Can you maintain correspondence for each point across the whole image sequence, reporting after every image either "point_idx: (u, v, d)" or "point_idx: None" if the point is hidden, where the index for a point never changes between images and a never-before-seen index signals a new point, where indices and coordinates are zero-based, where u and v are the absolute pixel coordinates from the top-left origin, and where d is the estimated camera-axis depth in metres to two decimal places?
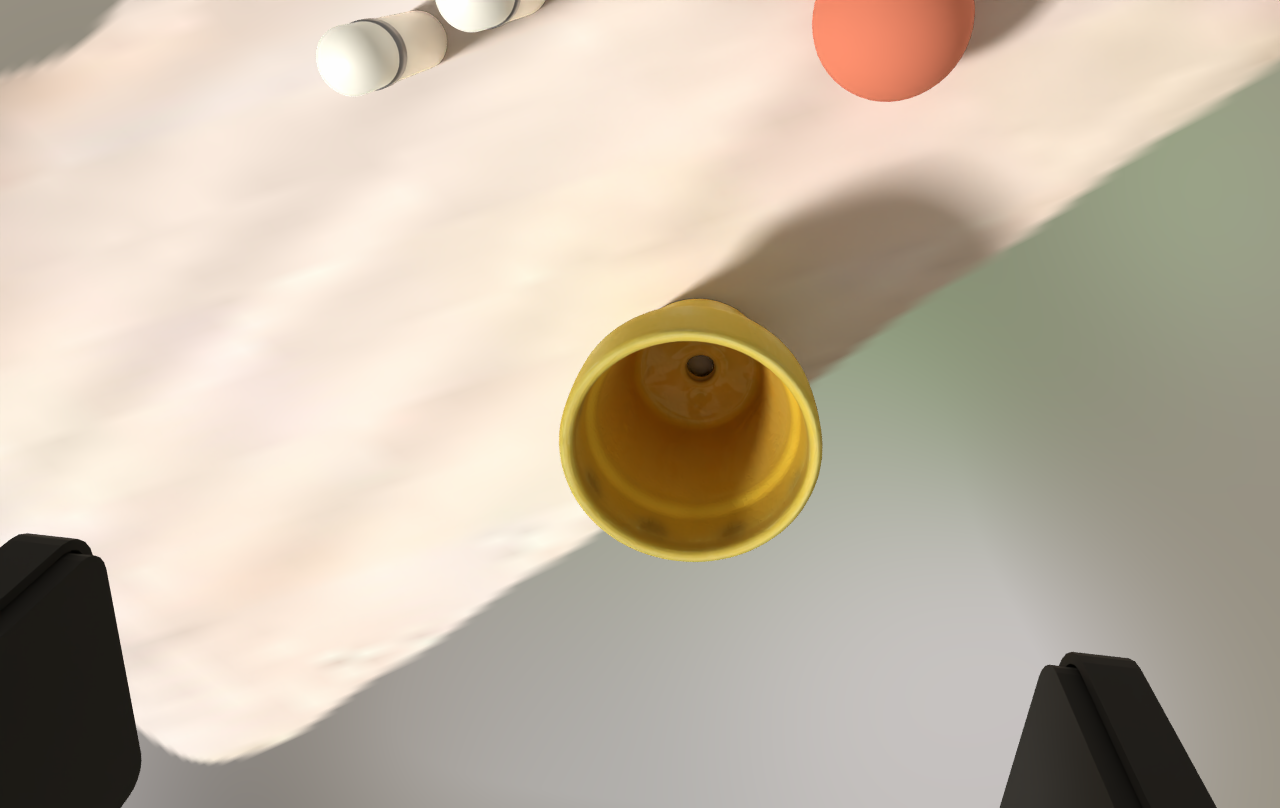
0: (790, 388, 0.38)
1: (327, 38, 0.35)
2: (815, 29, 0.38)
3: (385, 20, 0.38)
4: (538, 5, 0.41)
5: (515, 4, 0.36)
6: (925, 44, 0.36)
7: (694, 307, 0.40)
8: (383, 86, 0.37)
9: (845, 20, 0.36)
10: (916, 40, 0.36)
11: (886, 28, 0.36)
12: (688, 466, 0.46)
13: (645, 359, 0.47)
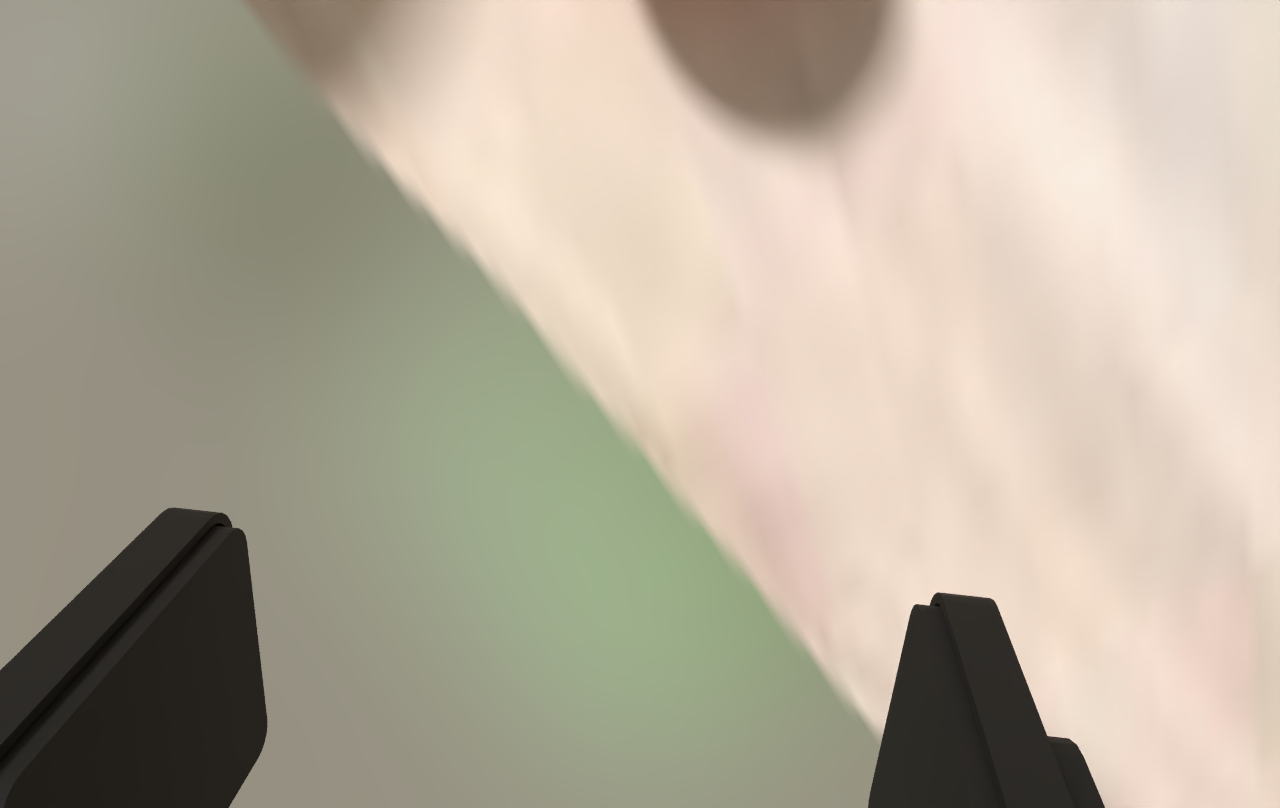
0: None
1: None
2: None
3: None
4: None
5: None
6: None
7: None
8: None
9: None
10: None
11: None
12: None
13: None
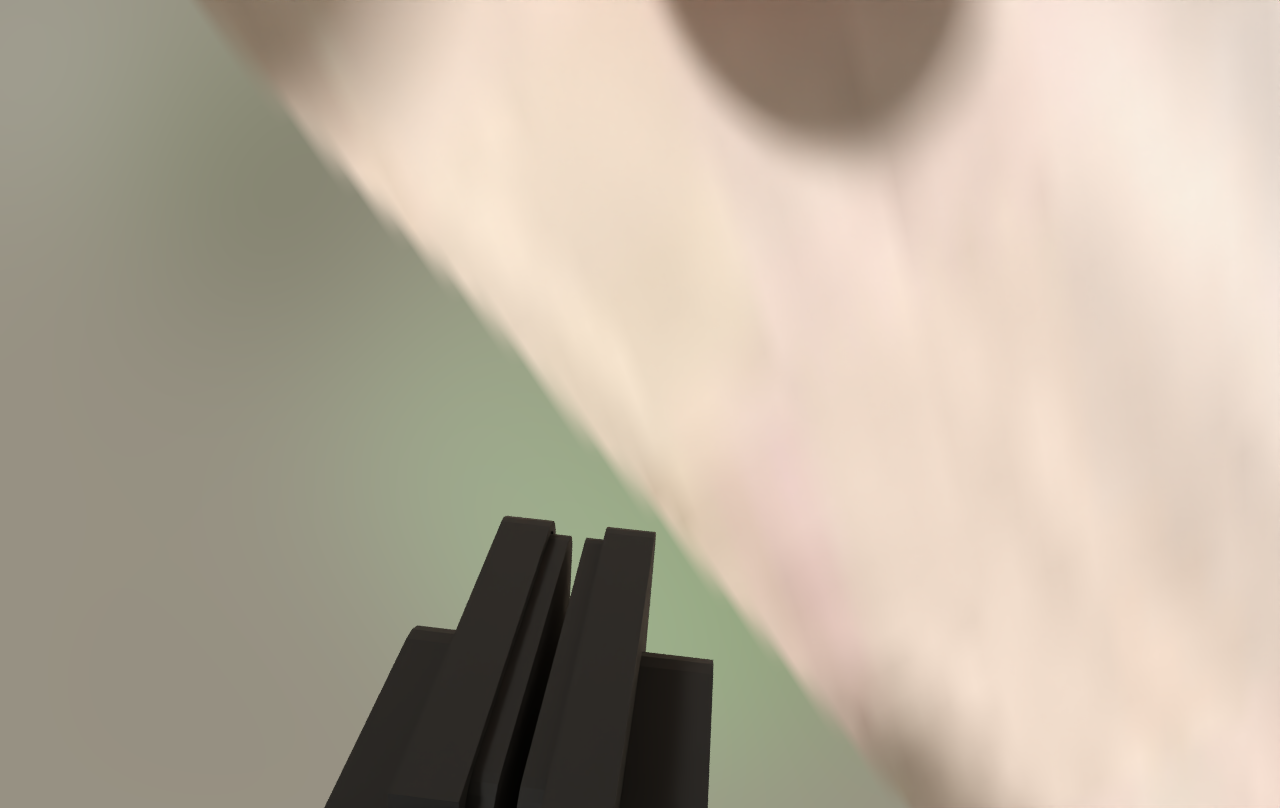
0: None
1: None
2: None
3: None
4: None
5: None
6: None
7: None
8: None
9: None
10: None
11: None
12: None
13: None
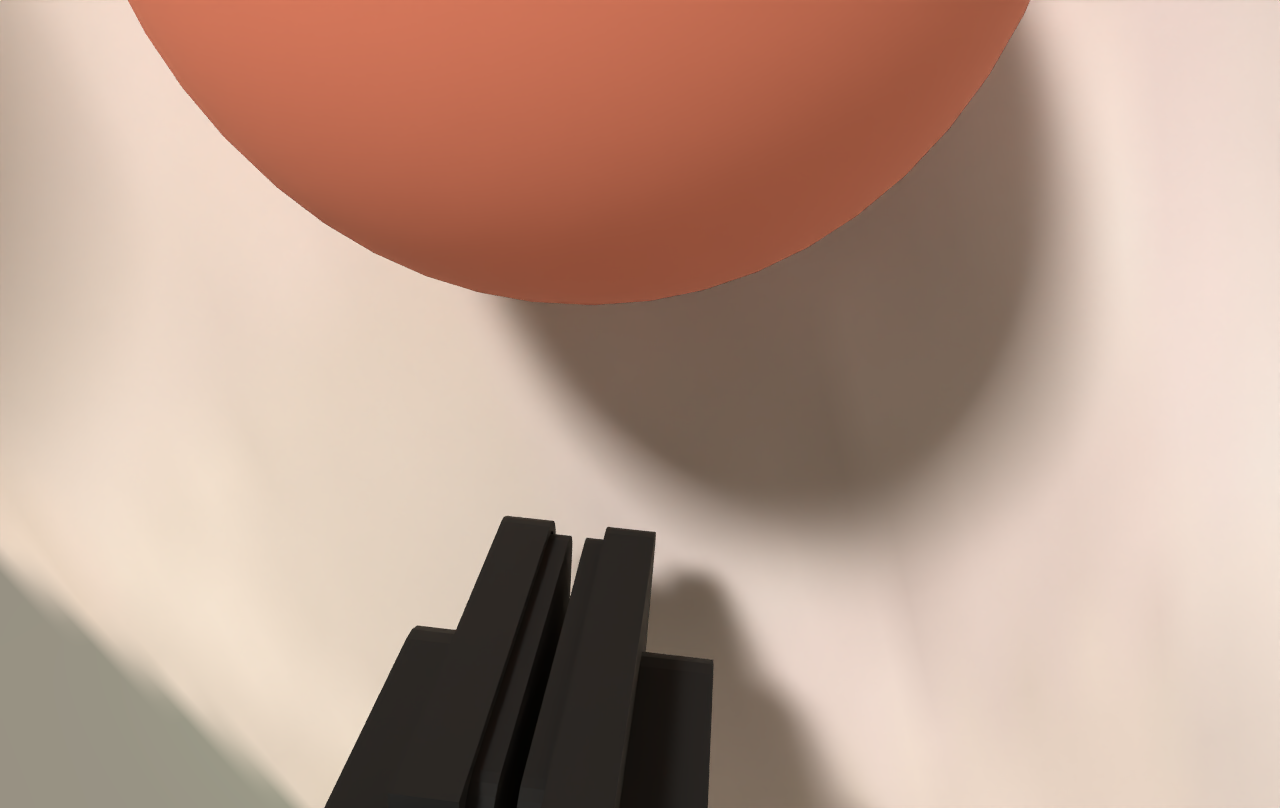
0: None
1: None
2: None
3: None
4: None
5: None
6: (352, 3, 0.04)
7: None
8: None
9: None
10: None
11: None
12: None
13: None
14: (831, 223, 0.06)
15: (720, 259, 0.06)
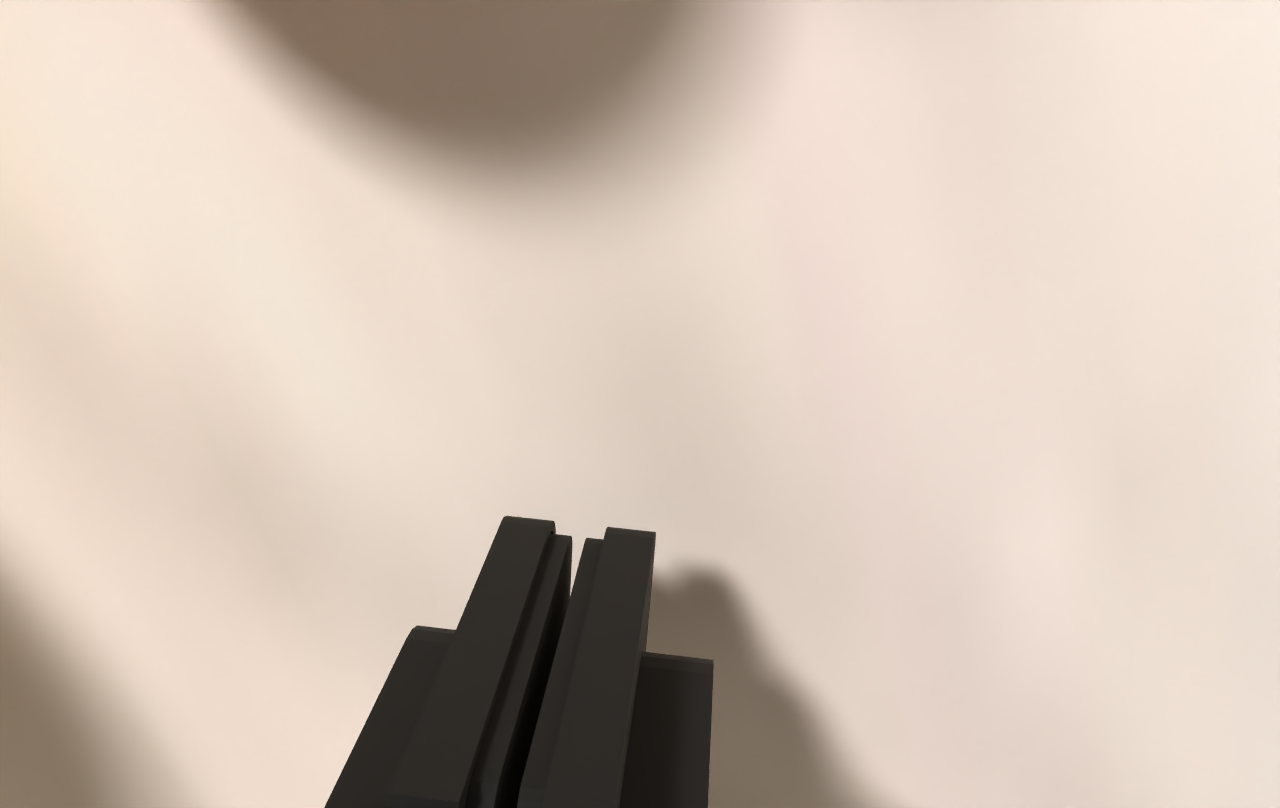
0: None
1: None
2: None
3: None
4: None
5: None
6: None
7: None
8: None
9: None
10: None
11: None
12: None
13: None
14: None
15: None
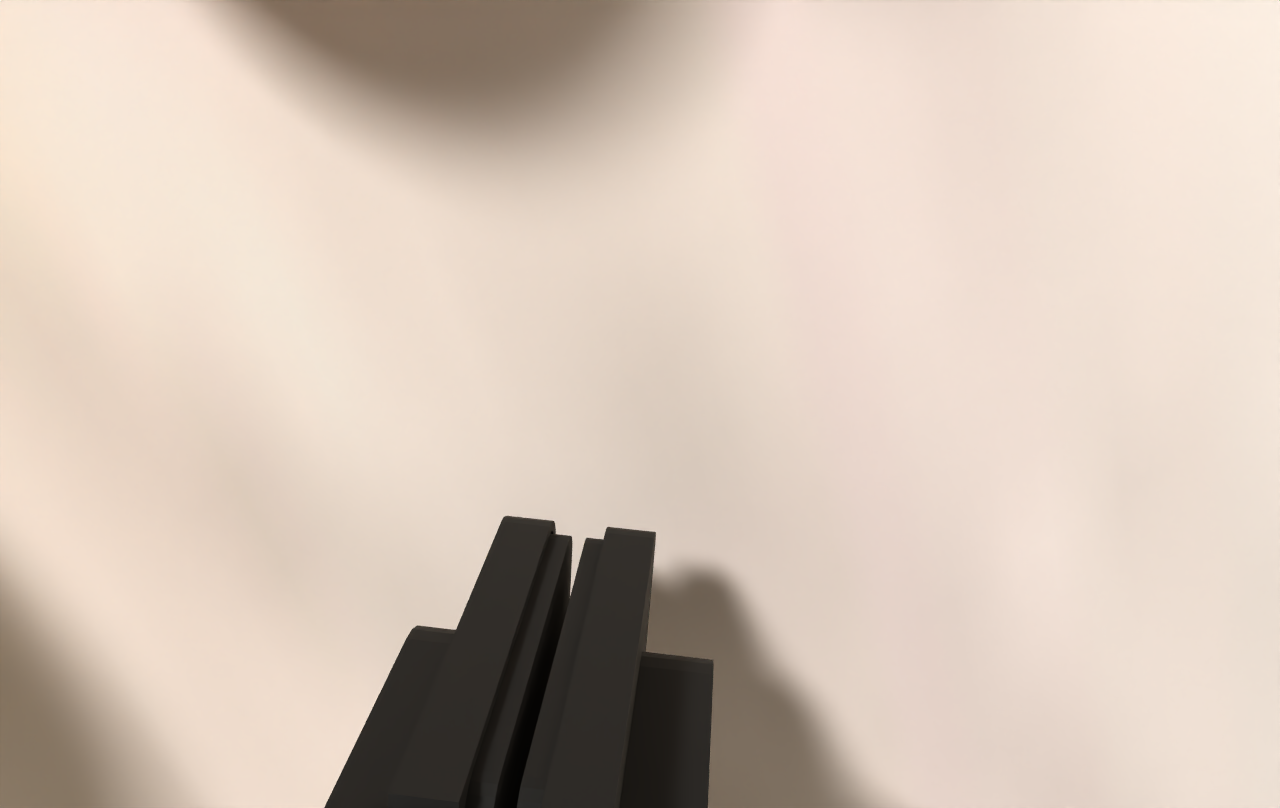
0: None
1: None
2: None
3: None
4: None
5: None
6: None
7: None
8: None
9: None
10: None
11: None
12: None
13: None
14: None
15: None
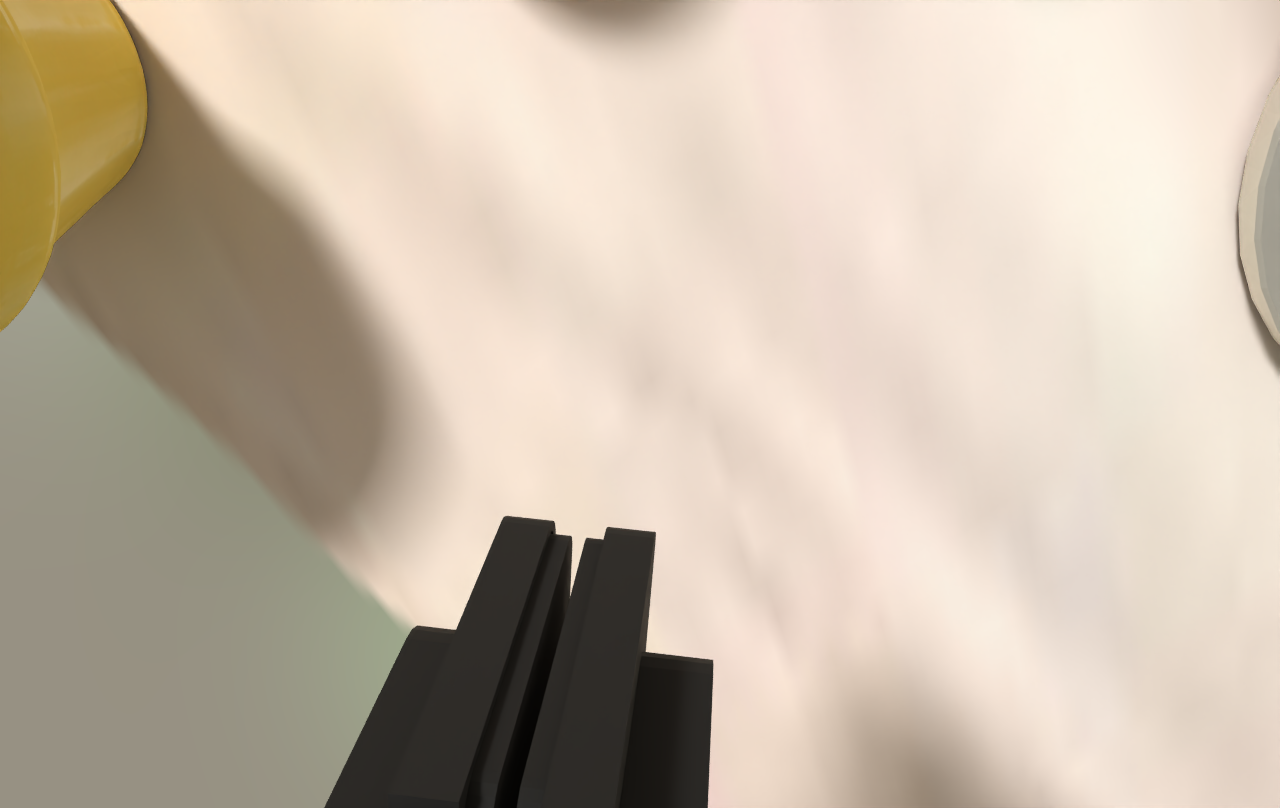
0: None
1: None
2: None
3: None
4: None
5: None
6: None
7: (41, 122, 0.18)
8: None
9: None
10: None
11: None
12: None
13: None
14: None
15: None
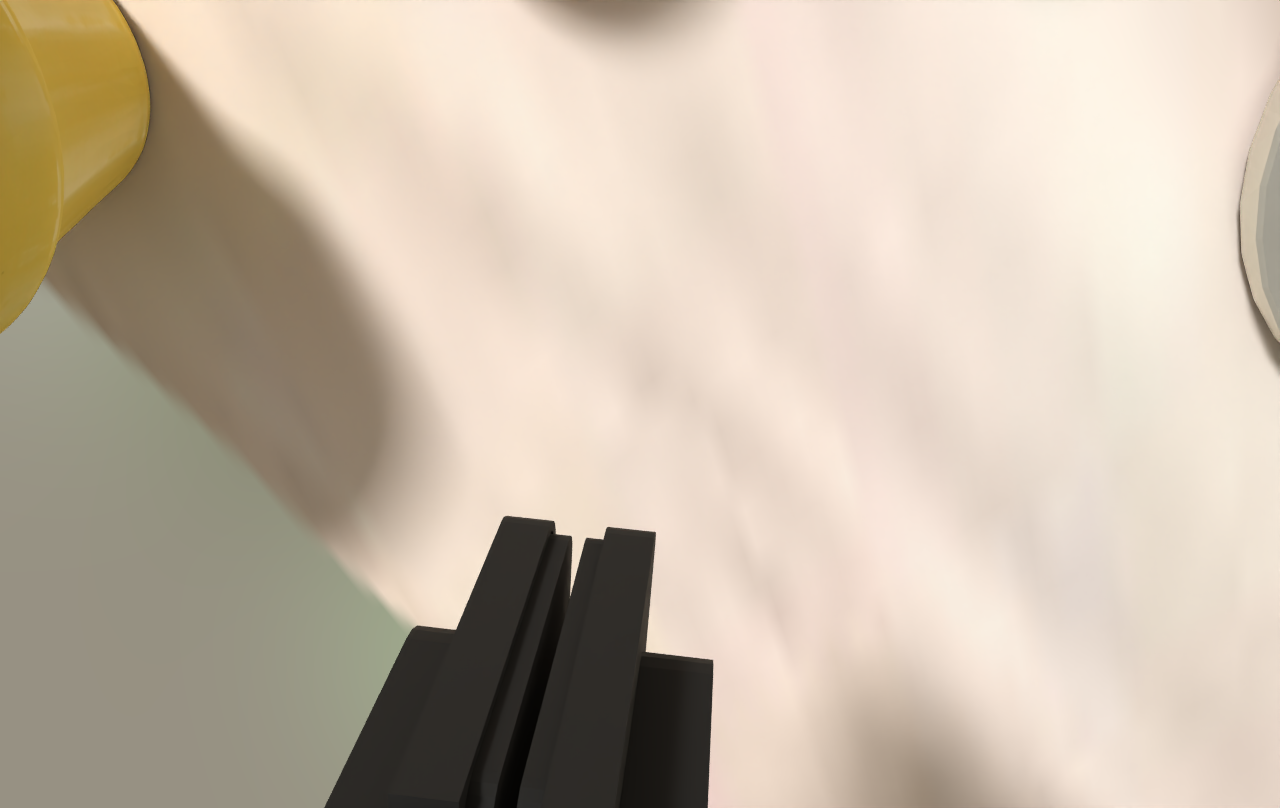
0: None
1: None
2: None
3: None
4: None
5: None
6: None
7: (44, 121, 0.18)
8: None
9: None
10: None
11: None
12: None
13: None
14: None
15: None
